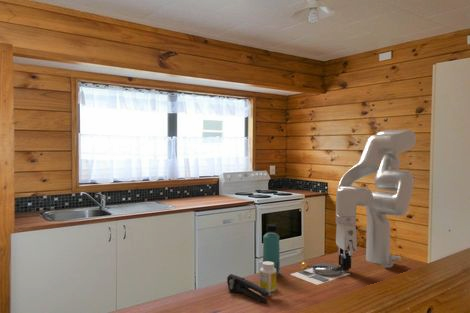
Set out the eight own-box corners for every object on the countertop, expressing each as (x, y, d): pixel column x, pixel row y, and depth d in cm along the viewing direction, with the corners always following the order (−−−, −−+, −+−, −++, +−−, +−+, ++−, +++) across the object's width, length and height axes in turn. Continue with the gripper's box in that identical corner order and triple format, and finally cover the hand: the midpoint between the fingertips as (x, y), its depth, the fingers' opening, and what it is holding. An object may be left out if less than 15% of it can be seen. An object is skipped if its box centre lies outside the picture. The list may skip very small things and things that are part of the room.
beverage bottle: (278, 280, 129) (279, 227, 129) (261, 279, 131) (262, 225, 131) (280, 274, 136) (281, 223, 136) (263, 273, 137) (264, 222, 137)
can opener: (221, 290, 120) (222, 274, 120) (236, 285, 125) (236, 269, 125) (259, 307, 107) (260, 289, 107) (274, 301, 112) (274, 283, 112)
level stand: (323, 268, 144) (323, 263, 144) (350, 277, 134) (350, 272, 134) (289, 278, 132) (289, 273, 132) (316, 289, 122) (317, 283, 122)
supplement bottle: (275, 290, 120) (275, 260, 120) (276, 296, 115) (277, 265, 115) (259, 289, 120) (259, 260, 120) (260, 296, 115) (260, 265, 115)
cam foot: (343, 266, 142) (344, 250, 141) (354, 276, 131) (354, 258, 130) (297, 266, 141) (298, 250, 141) (304, 276, 130) (304, 258, 130)
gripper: (364, 224, 128) (363, 274, 128) (346, 216, 144) (345, 260, 144) (344, 224, 127) (343, 274, 127) (329, 216, 144) (328, 260, 144)
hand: (344, 266), depth 136 cm, fingers open, 3 cm apart
